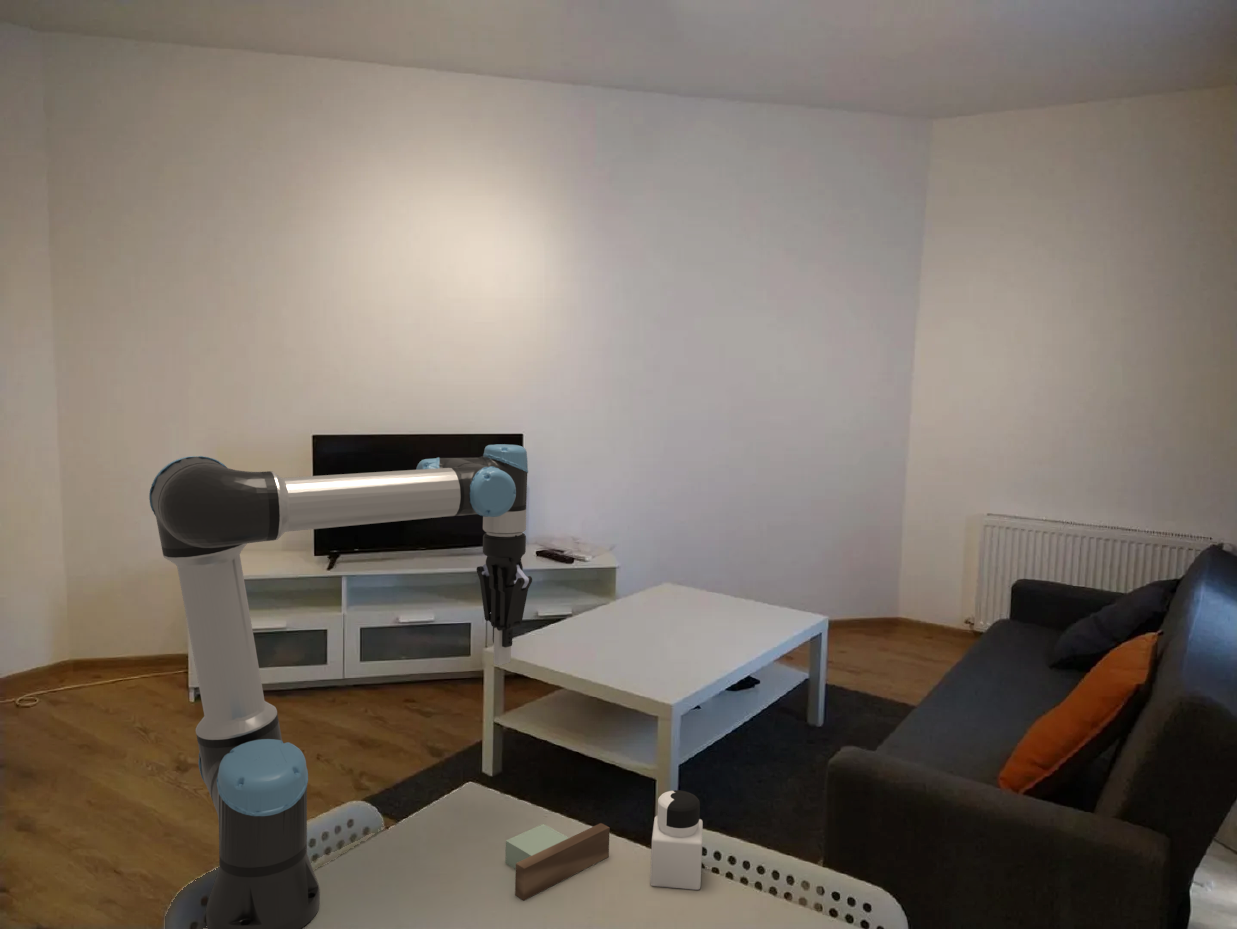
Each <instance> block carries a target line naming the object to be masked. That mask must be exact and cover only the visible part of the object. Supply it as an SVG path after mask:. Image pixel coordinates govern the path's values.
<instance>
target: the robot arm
mask: <svg viewBox="0 0 1237 929" xmlns="http://www.w3.org/2000/svg"><path fill="white" fill-rule="evenodd" d="M528 466H529V463H528V452H527V449H526V448H525V447H524V446H521V445H518V444H505V443H504V444H503V443H502V444H488V445H486V446H485V448H484V451H483V454H482V456H479V457H478V456H477V457H476V456H475V457H439V456H438V457H436V458H425V459H421V461H419V463H417V466H416V469H407V470H392V471H389V470H388V471H376V472H375V471H374V472H358V473H356V472H355V473H344V474H342V473H340V474H328V475H327V474H325V475H307V476H293V477H281V476H279V475H278V474H277V473H275V471H271V470H270V471H268V470H267V471H245V470H237V469H232V468H228V467H227V465H225V464H224V463H222V462H220V461H219V460H217V459H215V458H212V457H209V456H203V455H200V456H199V455H197V456H195V455H193V456H184V457H181V458H178V459H175V460H173V461H171V462H169V463H168V464H166V465H165V466H164V467H162V468H161V469H160V470H159V472H158V473H156V476H155V478H153V481H152V484H151V487H150V489H149V495H148V497H149V498H148V499H149V506H150V510H151V512H153V515H154V516H155V519H156V523H157V524H156V525H157V530H158V536H159V539H160V547H161V549H162V550H161V551H162V556H163V558H164V559H166V560H167V561H169V562H171V563H172V564H174V565H175V566H176V567H177V573H178V577H179V584H180V590H181V594H182V596H181V597H182V600H183V606H184V612H185V615H186V616H185V618H186V621H187V622H186V623H187V628H188V633H189V640H190V644H191V650H192V656H193V660H194V667H195V671H196V677H197V683H198V689H199V695H200V699H201V705H202V710H203V717H202V718H201V720H200V721H199V722H198V724H197V725H196V727H195V735H196V738H197V740H196V741H197V745H198V750H199V753H198V760H197V761H198V762H197V763H198V769H199V774H200V777H201V779H202V780H203V782H204V784H205V785H206V786H205V787H206V788H207V791H208V794H209V795H210V798H211V801H212V804H213V806H214V808H215V811H216V814H217V819H218V848H219V849H218V850H219V851H218V855H219V857H218V858H219V859H218V860H219V861H218V862H219V866H218V871H217V873H216V877H215V879H214V883H213V885H212V888H211V891H210V895H209V898H208V901H207V904H206V910H205V912H206V915H205V918H206V920H205V922H206V924H205V925H206V929H302V928H304V927H305V926H306V925H307V924H308V923H310V922H311V921H312V920H313V919H314V918H315V916H316V915H317V913H318V912H319V909H320V904H321V902H320V899H321V898H320V896H321V894H320V893H321V890H320V885H319V882H318V879H317V877H316V874H315V871H314V869H313V866H312V864H311V861H310V858H309V855H308V851H307V850H308V842H307V841H308V783H309V773H308V772H309V770H308V768H307V760H306V757H305V755H304V752H303V751H302V750H301V749H300V748H299V747H298V746H296V745H295V744H294V743H291V742H289V741H288V742H284V741H283V738H282V732H281V727H280V721H279V715H278V710H277V708H276V706H275V705H273V704H271V703H269V702H268V701H266V700H265V696H264V689H263V682H262V679H261V672H260V666H259V660H258V655H257V649H256V648H257V647H256V642H255V636H254V631H253V625H252V620H251V618H252V617H251V614H250V607H249V601H248V595H247V590H246V583H245V578H244V572H243V567H242V566H243V565H242V560H241V559H242V558H241V552H242V551H243V549H245V547H246V546H247V544H253V543H263V542H270V541H279V539H280V538H281V537H282V536H283V535H284V533H288V532H300V531H308V530H309V531H310V530H319V529H329V528H330V529H331V528H339V527H341V528H342V527H349V526H360V525H361V526H362V525H370V524H371V525H372V524H381V523H391V522H392V523H393V522H401V521H402V522H403V521H412V520H424V519H431V518H432V519H433V518H434V519H435V518H442V517H443V518H444V517H455V516H456V517H459V516H469V515H479V516H481V517H482V530H483V531H484V532H485V533H484V534H483V535H482V554H483V555H484V556H486V559H485V563H484V564H483V565H480V566H477V567H476V573H477V576H478V578H479V583H480V593H481V598H482V599H481V600H482V606H483V616H484V620H485V622H490V626H491V627H492V643H493V661H492V662H493V665H496V666H502V665H503V666H504V665H505V664H511V660H512V658H511V657H512V656H511V654H512V651H511V650H512V646H513V636H514V635H513V634H514V633H513V632H514V631H513V630H514V628H518V627H521V626H522V624H523V619H524V618H523V617H524V611H525V607H526V602H527V596H528V592H529V588H530V586H531V584H532V583H533V577H532V576H531V575H529V576H528V575H526V574H525V572H524V570H523V569H524V567H523V563H522V557H523V556H524V555H525V554H526V551H527V550H526V548H527V547H526V546H527V545H526V544H527V543H526V542H527V536H526V534H525V533H524V532H526V530H527V499H528V498H527V497H528V495H527V493H528V474H529V468H528Z"/></svg>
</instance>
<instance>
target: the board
mask: <svg viewBox="0 0 1237 929" xmlns="http://www.w3.org/2000/svg"><path fill="white" fill-rule="evenodd" d="M610 831H611V830H610V827H609V826H608V825H606V824H604V823H602V822H600V823H597V824H596V825H594V826H592V827H590V828H588V829H585V830H583V831H581V832H578V833H577V834H574V835H572V836H571V837H569V838H568V839H566V840H564V841H562V842H560V843H558V844H555V845H553V846H551V847H549V848H547V849H545V850H543V851H541V852H539V853H536V854H534V855H532V856H530V857H528V858H526V859H524V860H522V861H520V862H517V863H516V869H515V878H514V879H515V882H514V884H515V885H514V886H515V887H514V895H515V896H516V897H517V898H518V899H521V901H525V900H528V899H529V898H532V897H533V896H535V895H538V894H539V893H541V892H543V891H545V890H547V889H549V888H551V887H553V886H554V885H557V884H559V883H561V882H562V881H565V880H566V879H568V878H570V877H572V876H575V875H576V874H578V873H580V872H582V871H584V870H585V869H587V868H590V867H592V866H593V865H594V866H595V864H597V863H599V862H602V861H603V860H605V859H607V858H609V857H610V856H609V855H610Z"/></svg>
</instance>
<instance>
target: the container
mask: <svg viewBox="0 0 1237 929" xmlns="http://www.w3.org/2000/svg"><path fill="white" fill-rule="evenodd" d="M700 805H701V801H700V800H699V798H698V797H697V796H696V794H693V793H691V792H689V791H685V790H680V789H677V790H675V789H674V790H668V791H665V792H663V793H662V794H661V795H660V796H659V797H658V799H657V814H656V816H654V821H653V827H652V834H651V851H650V852H651V854H650V855H651V856H650V875H649V876H650V877H649V878H650V880H649V882H650V883H649V884H650V885H651V886H652V887H657V888H658V887H661V888H672V889H683V890H694V891H695V890H696V891H698V890H700V889H701V885H702V884H701V883H702V882H701V880H702V859H703V858H702V857H703V827H704V826H703V824H704V823H703V819H701V818H700V812H701V810H700Z"/></svg>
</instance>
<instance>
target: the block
mask: <svg viewBox="0 0 1237 929" xmlns="http://www.w3.org/2000/svg"><path fill="white" fill-rule="evenodd" d="M568 838H570V837H568V836H567V835H566V834H563V833H561V832H559V831H558V830H556V829H554V828H552V827H550V826H548V825H546V823H545V824H544V823H542V824H540V825H536V827H533V828H531V829H529V830H526V831H524V832H522V833H520V834H519V833H518V834H517V835H516V836H513V837H510V838H509V839H506V840H505V861H504V863H505V864H507V865H508V866H510V867H511V868H513V869H514V870H516V863H517V862H520V861H522V860H524V859H526V858H528V857H530V856H532V855H534V854H536V853H539V852H541V851H543V850H545V849H547V848H549V847H551V846H553V845H555V844H558V843H560V842H562V841H564V840H566V839H568Z"/></svg>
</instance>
